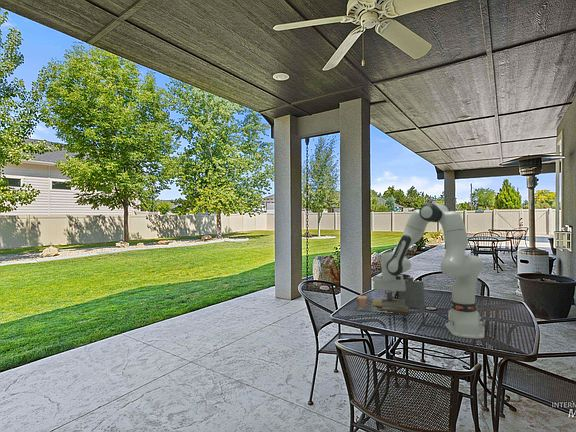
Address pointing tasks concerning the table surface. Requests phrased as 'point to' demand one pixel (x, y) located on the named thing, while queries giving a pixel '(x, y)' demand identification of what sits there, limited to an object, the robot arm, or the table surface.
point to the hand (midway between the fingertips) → (389, 297)
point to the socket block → (362, 301)
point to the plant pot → (405, 277)
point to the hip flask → (413, 293)
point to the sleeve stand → (393, 306)
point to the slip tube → (379, 302)
